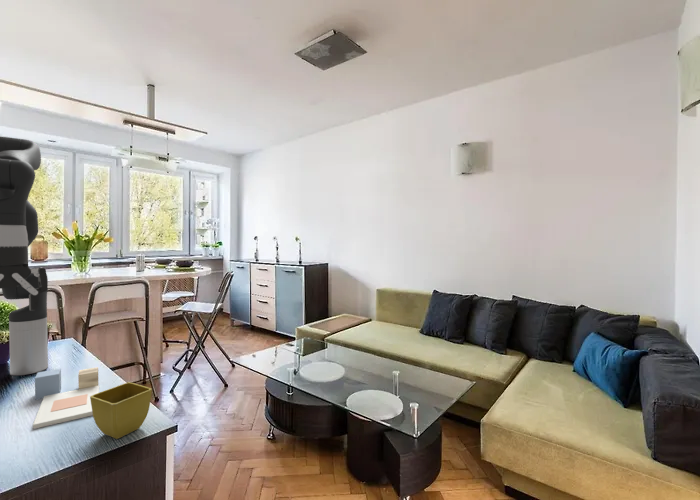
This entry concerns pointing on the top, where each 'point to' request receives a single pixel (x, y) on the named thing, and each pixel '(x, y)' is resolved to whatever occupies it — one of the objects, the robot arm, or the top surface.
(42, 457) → the top surface
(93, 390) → the board
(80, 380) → the maple block
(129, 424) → the flower pot
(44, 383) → the slate block
